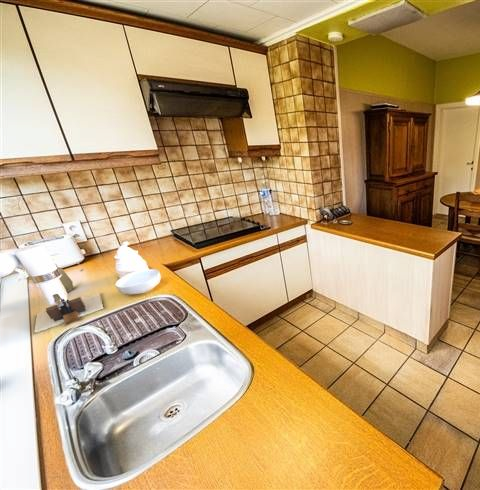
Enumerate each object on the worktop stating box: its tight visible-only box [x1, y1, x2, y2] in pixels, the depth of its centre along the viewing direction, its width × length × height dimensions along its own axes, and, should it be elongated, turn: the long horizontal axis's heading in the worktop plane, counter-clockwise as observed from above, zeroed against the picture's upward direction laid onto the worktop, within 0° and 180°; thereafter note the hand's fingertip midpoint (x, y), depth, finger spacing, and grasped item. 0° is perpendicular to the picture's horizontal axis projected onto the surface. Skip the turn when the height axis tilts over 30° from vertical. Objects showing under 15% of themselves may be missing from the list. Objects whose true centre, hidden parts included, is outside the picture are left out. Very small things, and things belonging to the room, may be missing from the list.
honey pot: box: [113, 241, 150, 279], centre depth 143 cm, size 13×13×18 cm
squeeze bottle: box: [56, 264, 74, 293], centre depth 128 cm, size 8×8×18 cm
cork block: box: [63, 311, 81, 326], centre depth 109 cm, size 4×4×2 cm
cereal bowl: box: [115, 268, 162, 296], centre depth 128 cm, size 17×17×7 cm
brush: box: [45, 296, 86, 321], centre depth 111 cm, size 10×3×6 cm, turn 137°
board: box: [34, 292, 105, 334], centre depth 115 cm, size 20×17×1 cm
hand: (69, 313), depth 112 cm, fingers closed on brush, 3 cm apart
